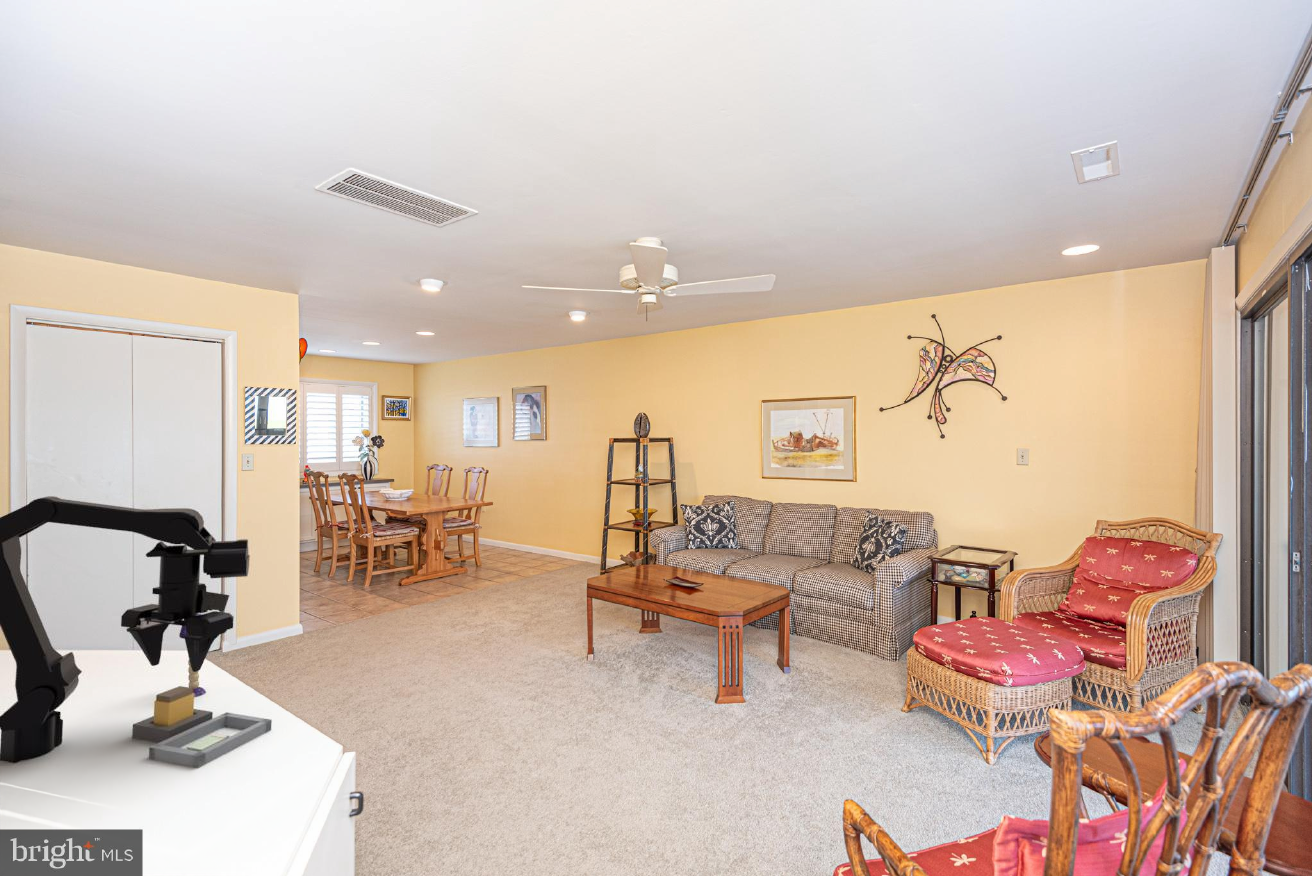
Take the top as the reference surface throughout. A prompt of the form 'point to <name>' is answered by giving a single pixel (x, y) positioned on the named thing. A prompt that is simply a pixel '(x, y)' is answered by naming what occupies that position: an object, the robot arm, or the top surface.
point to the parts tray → (175, 754)
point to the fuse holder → (168, 727)
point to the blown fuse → (173, 706)
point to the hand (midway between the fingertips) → (175, 668)
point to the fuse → (207, 742)
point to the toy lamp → (192, 675)
